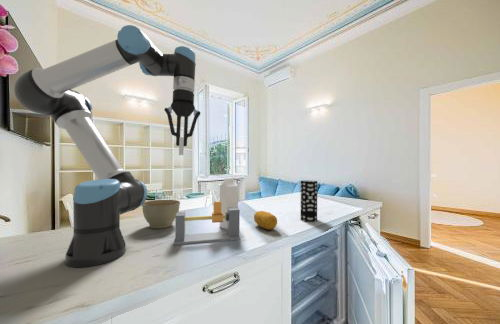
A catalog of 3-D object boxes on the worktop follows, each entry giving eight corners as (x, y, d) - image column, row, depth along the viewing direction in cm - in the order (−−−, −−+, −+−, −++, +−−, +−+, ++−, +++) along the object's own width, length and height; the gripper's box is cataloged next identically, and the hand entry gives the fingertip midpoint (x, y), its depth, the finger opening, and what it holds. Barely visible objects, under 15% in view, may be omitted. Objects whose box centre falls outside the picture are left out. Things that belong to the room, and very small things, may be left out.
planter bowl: (171, 231, 89) (172, 206, 89) (134, 231, 90) (134, 205, 90) (184, 221, 105) (184, 199, 105) (152, 220, 106) (152, 199, 106)
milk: (237, 227, 97) (238, 178, 97) (227, 229, 92) (227, 179, 93) (229, 224, 101) (230, 177, 101) (219, 226, 97) (219, 178, 97)
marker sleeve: (212, 222, 81) (212, 202, 81) (211, 220, 84) (212, 201, 84) (222, 222, 82) (223, 202, 82) (222, 219, 85) (222, 200, 85)
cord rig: (173, 244, 75) (173, 213, 75) (175, 237, 83) (176, 209, 83) (240, 239, 81) (240, 210, 81) (236, 232, 88) (236, 206, 89)
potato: (264, 222, 104) (264, 208, 104) (281, 231, 91) (281, 215, 91) (251, 224, 101) (251, 209, 101) (266, 233, 88) (266, 216, 88)
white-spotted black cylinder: (306, 216, 115) (306, 180, 116) (320, 220, 109) (320, 181, 109) (297, 219, 110) (297, 180, 110) (310, 223, 104) (311, 182, 104)
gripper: (163, 85, 73) (160, 153, 73) (202, 90, 77) (199, 155, 77) (166, 92, 81) (163, 154, 81) (201, 96, 84) (198, 156, 84)
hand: (181, 155), depth 79 cm, fingers closed
